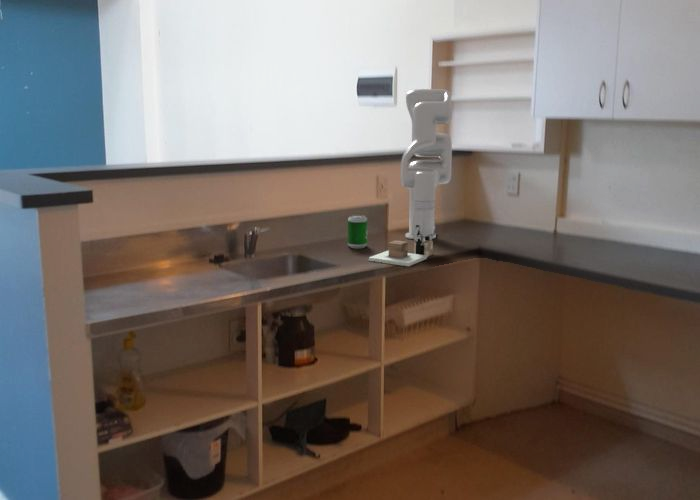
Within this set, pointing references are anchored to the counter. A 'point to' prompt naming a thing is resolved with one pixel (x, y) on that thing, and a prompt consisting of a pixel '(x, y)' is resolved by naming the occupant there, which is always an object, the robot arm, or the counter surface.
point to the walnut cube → (398, 249)
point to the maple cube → (426, 248)
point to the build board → (398, 259)
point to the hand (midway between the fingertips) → (423, 253)
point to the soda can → (357, 231)
